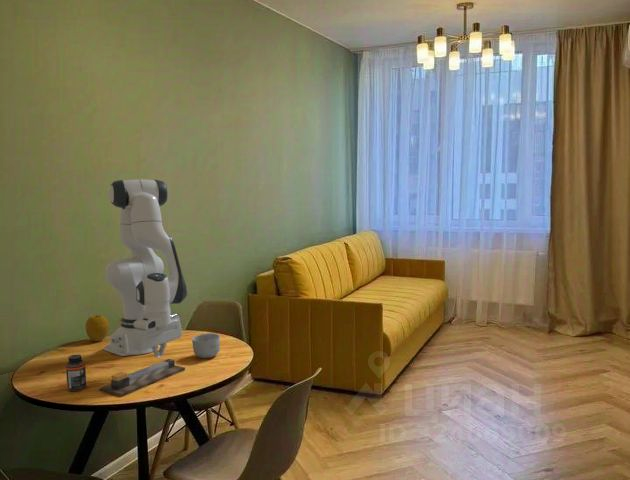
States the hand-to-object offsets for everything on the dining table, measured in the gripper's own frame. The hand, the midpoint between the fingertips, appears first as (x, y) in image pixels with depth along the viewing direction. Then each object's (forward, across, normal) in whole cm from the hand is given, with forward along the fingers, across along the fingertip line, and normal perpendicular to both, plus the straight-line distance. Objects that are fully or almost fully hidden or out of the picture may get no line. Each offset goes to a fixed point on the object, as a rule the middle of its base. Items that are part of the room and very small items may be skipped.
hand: (159, 355), depth 200 cm
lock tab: (+2, +19, +1) cm, 19 cm away
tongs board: (+6, +8, +1) cm, 10 cm away
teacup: (+6, -24, +2) cm, 25 cm away
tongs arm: (+4, +5, +1) cm, 7 cm away
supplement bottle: (+7, +25, -12) cm, 29 cm away
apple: (+8, -17, -56) cm, 59 cm away
